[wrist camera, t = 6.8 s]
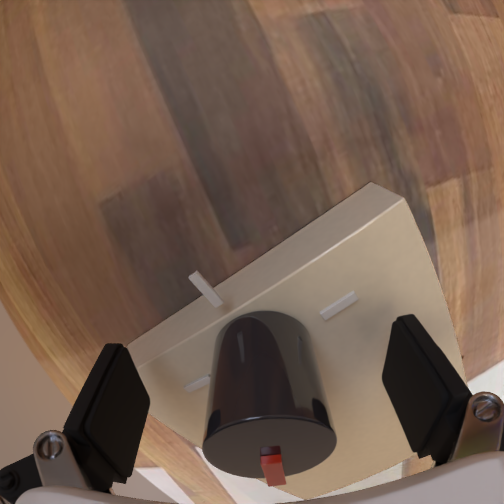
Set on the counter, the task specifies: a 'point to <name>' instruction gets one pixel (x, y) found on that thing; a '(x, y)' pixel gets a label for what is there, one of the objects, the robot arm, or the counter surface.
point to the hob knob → (266, 400)
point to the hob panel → (315, 330)
